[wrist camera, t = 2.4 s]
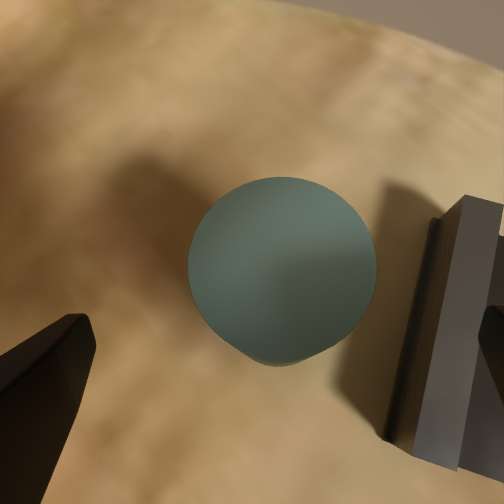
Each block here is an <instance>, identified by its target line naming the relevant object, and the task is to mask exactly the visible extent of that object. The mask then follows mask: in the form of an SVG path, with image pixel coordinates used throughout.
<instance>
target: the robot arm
mask: <svg viewBox="0 0 504 504" xmlns="http://www.w3.org/2000/svg"><path fill="white" fill-rule="evenodd" d="M478 342H479V345H480V348H481V350H482V353H483V356H484V358H485V361H486V363H487V366H488V368H489V371H490V373H491V376H492V378H493V381H494V383H495V386H496V388H497V391H498V394H499V396H500V398H501V401H502V403H503V405H504V304H490V305H488V306H487V307H486V308H485V311H484V314H483V318H482V321H481V325H480V328H479V332H478ZM95 351H96V340H95V336H94V333H93V330H92V326H91V323H90V320H89V317H88V316H87V315H86V314H84V313H75V314H67V315H65V316H64V317H62V318H60V319H59V320H57V321H56V322H54V323H52V324H51V325H49V326H48V327H46V328H44V329H43V330H41V331H40V332H38V333H36V334H35V335H33V336H32V337H30V338H28V339H27V340H25V341H24V342H22V343H20V344H19V345H17V346H16V347H14V348H12V349H11V350H9V351H8V352H6V353H4V354H3V355H1V356H0V504H41V501H42V499H43V496H44V494H45V491H46V489H47V487H48V484H49V482H50V479H51V477H52V474H53V472H54V469H55V467H56V465H57V462H58V460H59V457H60V455H61V452H62V450H63V447H64V445H65V443H66V440H67V438H68V435H69V433H70V430H71V428H72V425H73V423H74V420H75V418H76V415H77V413H78V410H79V407H80V404H81V400H82V397H83V393H84V390H85V386H86V383H87V379H88V376H89V372H90V369H91V365H92V362H93V358H94V355H95Z"/></svg>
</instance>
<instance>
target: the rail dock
mask: <svg viewBox="0 0 504 504" xmlns="http://www.w3.org/2000/svg"><path fill="white" fill-rule="evenodd" d="M503 207H504V205H503V204H500V203H496V202H492V201H488V200H484V199H481V198H477V197H473V196H469V195H464V196H463V197H462V198H461V199H460V200H459V201H458V202H457V203H455V204H454V205H453V206H452V207H451V208H450V209H449V210H448V211H447V212H446V213H445V214H444V215H443V216H442V217H441V218H439V219H437V218H432V219H431V223H430V227H429V232H428V236H427V241H426V245H425V250H424V254H423V258H422V263H421V267H420V272H419V276H418V281H417V285H416V290H415V294H414V298H413V303H412V307H411V312H410V316H409V321H408V325H407V330H406V334H405V338H404V343H403V347H402V352H401V356H400V361H399V365H398V370H397V374H396V379H395V383H394V387H393V392H392V396H391V401H390V405H389V410H388V414H387V419H386V423H385V427H384V432H383V436H382V440H384V441H386V442H389V443H391V444H393V445H394V446H396V447H398V448H400V449H401V450H403V451H405V452H406V453H408V454H410V455H411V456H414V457H417V458H420V459H423V460H425V461H428V462H431V463H434V464H437V465H440V466H442V467H445V468H448V469H451V470H454V471H457V468H458V467H460V468H463V469H466V470H469V471H472V472H474V473H477V474H480V475H483V476H486V477H489V478H492V479H494V480H497V481H500V482H503V483H504V405H503V403H502V401H501V398H500V396H499V394H498V391H497V388H496V386H495V383H494V381H493V378H492V376H491V373H490V371H489V368H488V366H487V363H486V361H485V358H484V356H483V353H482V350H481V348H480V345H479V342H478V332H479V328H480V325H481V321H482V318H483V314H484V311H485V308H486V307H487V306H488V305H490V304H504V237H503V236H500V235H499V230H500V224H501V218H502V212H503Z"/></svg>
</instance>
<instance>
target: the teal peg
mask: <svg viewBox="0 0 504 504" xmlns="http://www.w3.org/2000/svg"><path fill="white" fill-rule="evenodd" d="M376 277H377V259H376V253H375V248H374V245H373V241H372V238H371V236H370V234H369V231H368V229H367V227H366V225H365V224H364V222H363V221H362V219H361V217H360V216H359V215H358V213H357V212H356V211H355V210H354V209H353V207H352V206H351V205H349V204H348V203H347V202H346V201H345V200H344V199H343V198H342V197H340V196H339V195H337V194H336V193H335V192H333V191H331V190H329V189H328V188H326V187H324V186H322V185H319V184H317V183H314V182H311V181H307V180H304V179H299V178H292V177H273V178H265V179H260V180H255V181H253V182H250V183H247V184H244V185H242V186H240V187H238V188H236V189H234V190H232V191H231V192H229V193H228V194H226V195H225V196H223V197H222V198H221V199H220V200H219V201H217V202H216V203H215V204H214V205H213V206H212V207H211V209H210V210H209V211H208V212H207V213H206V215H205V216H204V217H203V219H202V220H201V222H200V224H199V226H198V228H197V229H196V231H195V234H194V237H193V239H192V242H191V246H190V250H189V257H188V279H189V285H190V290H191V293H192V296H193V299H194V302H195V304H196V306H197V308H198V310H199V312H200V313H201V315H202V317H203V318H204V320H205V321H206V322H207V324H208V325H209V326H210V327H211V328H212V329H213V331H214V332H215V333H217V334H218V335H219V336H220V337H221V338H222V339H223V340H225V341H226V342H228V343H229V344H231V345H232V346H234V347H235V348H236V349H238V350H239V351H241V352H242V353H244V354H245V355H247V356H248V357H250V358H251V359H253V360H254V361H256V362H258V363H261V364H264V365H268V366H275V367H282V366H289V365H293V364H296V363H299V362H301V361H303V360H305V359H307V358H310V357H312V356H314V355H316V354H318V353H320V352H322V351H324V350H326V349H328V348H330V347H332V346H334V345H335V344H337V343H338V342H339V341H341V340H342V339H344V338H345V337H346V336H347V335H348V334H349V333H350V332H351V331H352V330H353V329H354V328H355V327H356V326H357V324H358V323H359V322H360V320H361V319H362V318H363V316H364V314H365V312H366V311H367V309H368V307H369V304H370V302H371V299H372V297H373V293H374V289H375V285H376Z"/></svg>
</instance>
